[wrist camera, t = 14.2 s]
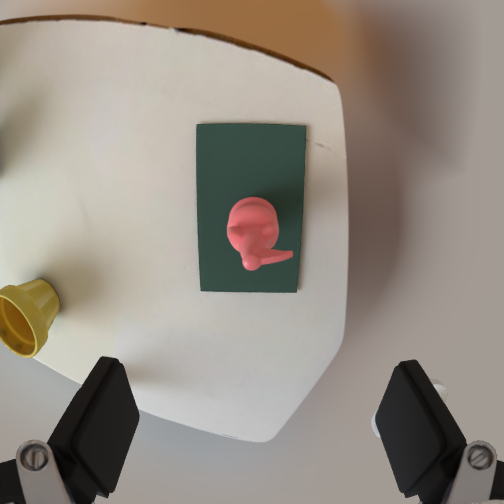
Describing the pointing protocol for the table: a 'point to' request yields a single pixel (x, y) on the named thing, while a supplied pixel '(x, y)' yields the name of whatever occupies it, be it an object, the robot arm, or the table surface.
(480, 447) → the robot arm
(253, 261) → the figurine
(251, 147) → the mat
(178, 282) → the table surface
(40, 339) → the flower pot
